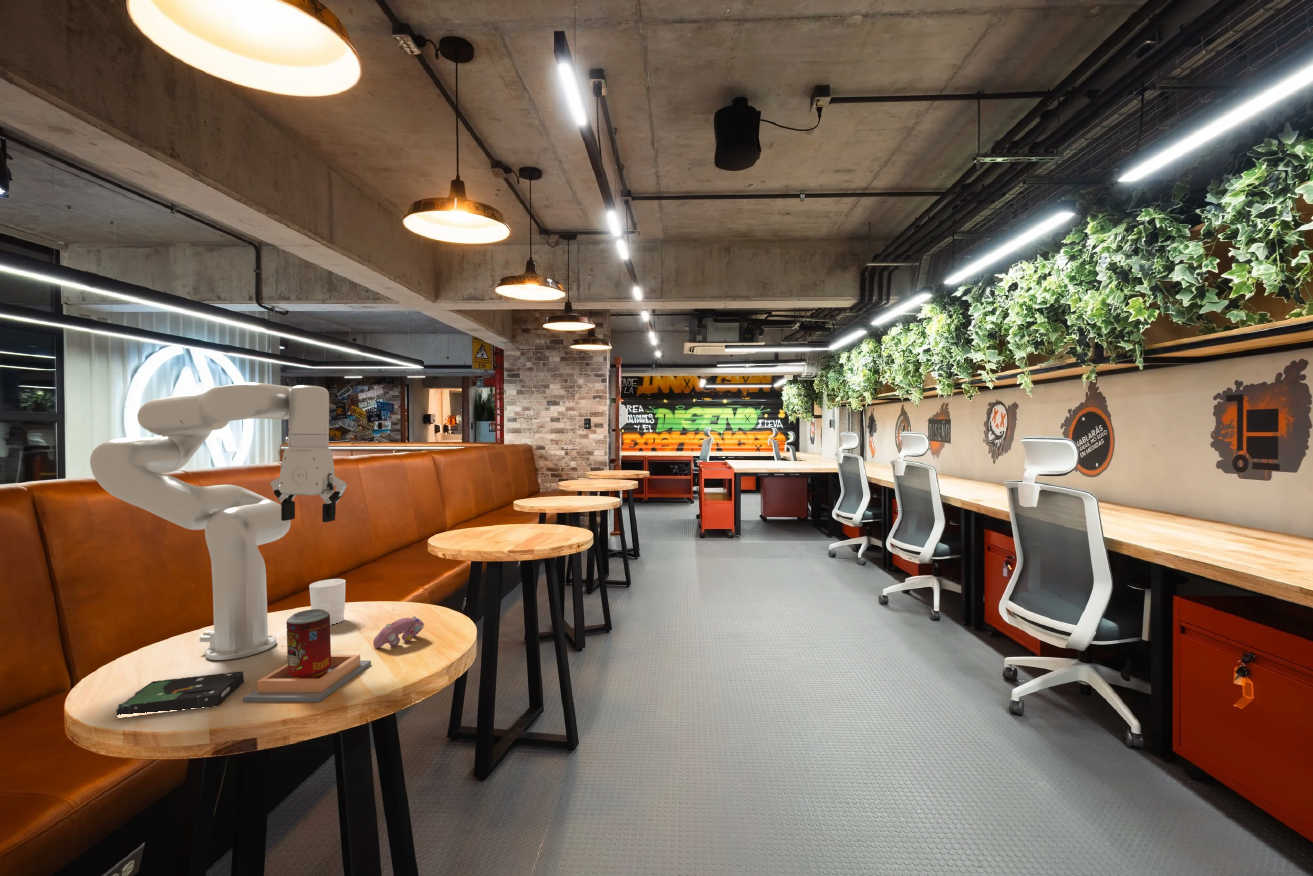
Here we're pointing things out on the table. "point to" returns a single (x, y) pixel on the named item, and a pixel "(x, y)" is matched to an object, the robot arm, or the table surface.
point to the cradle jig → (306, 682)
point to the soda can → (308, 644)
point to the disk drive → (183, 693)
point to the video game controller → (398, 631)
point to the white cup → (329, 598)
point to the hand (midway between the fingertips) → (308, 520)
